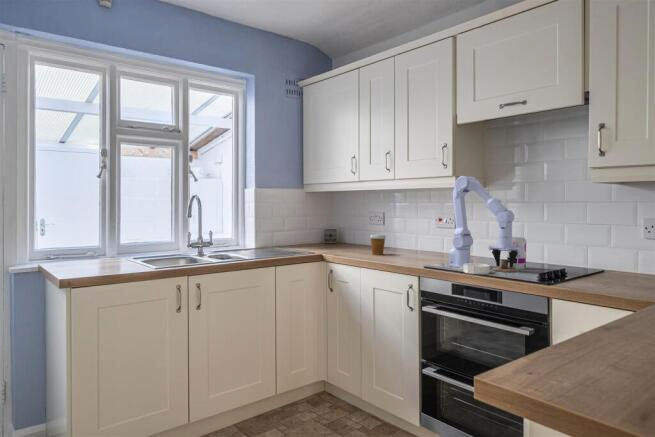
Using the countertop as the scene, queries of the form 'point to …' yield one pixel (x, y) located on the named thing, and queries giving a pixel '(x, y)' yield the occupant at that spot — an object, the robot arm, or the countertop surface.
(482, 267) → the bowl
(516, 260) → the supplement can
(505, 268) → the lid
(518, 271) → the mat
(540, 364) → the countertop surface
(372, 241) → the disposable coffee cup
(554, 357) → the countertop surface
